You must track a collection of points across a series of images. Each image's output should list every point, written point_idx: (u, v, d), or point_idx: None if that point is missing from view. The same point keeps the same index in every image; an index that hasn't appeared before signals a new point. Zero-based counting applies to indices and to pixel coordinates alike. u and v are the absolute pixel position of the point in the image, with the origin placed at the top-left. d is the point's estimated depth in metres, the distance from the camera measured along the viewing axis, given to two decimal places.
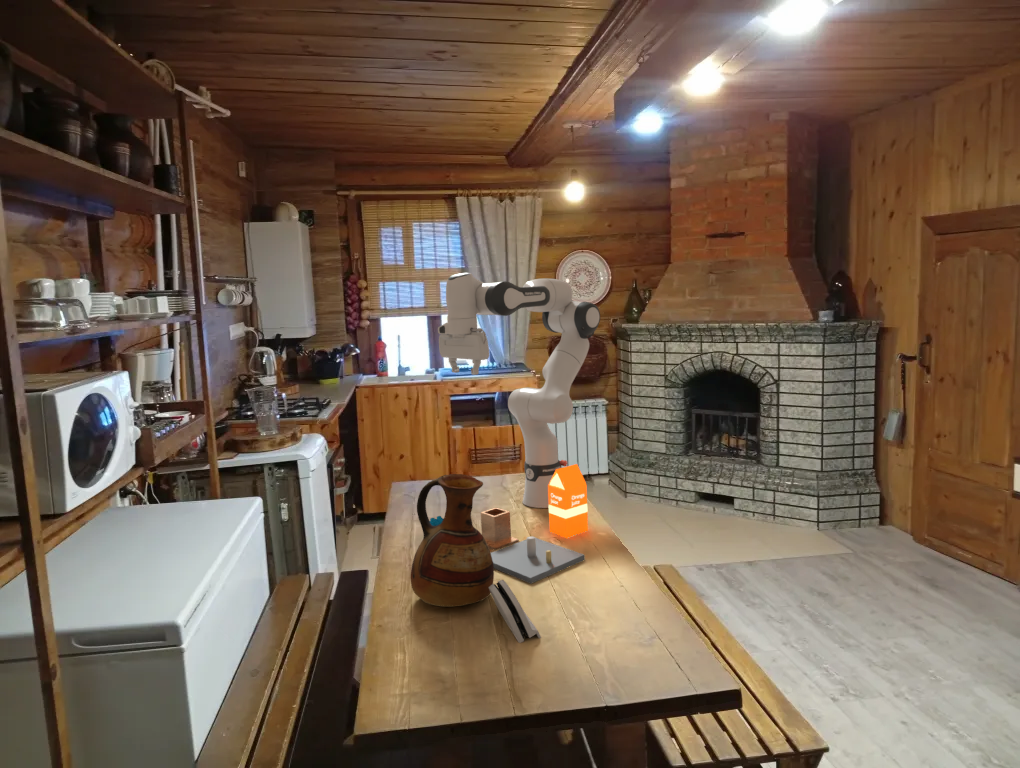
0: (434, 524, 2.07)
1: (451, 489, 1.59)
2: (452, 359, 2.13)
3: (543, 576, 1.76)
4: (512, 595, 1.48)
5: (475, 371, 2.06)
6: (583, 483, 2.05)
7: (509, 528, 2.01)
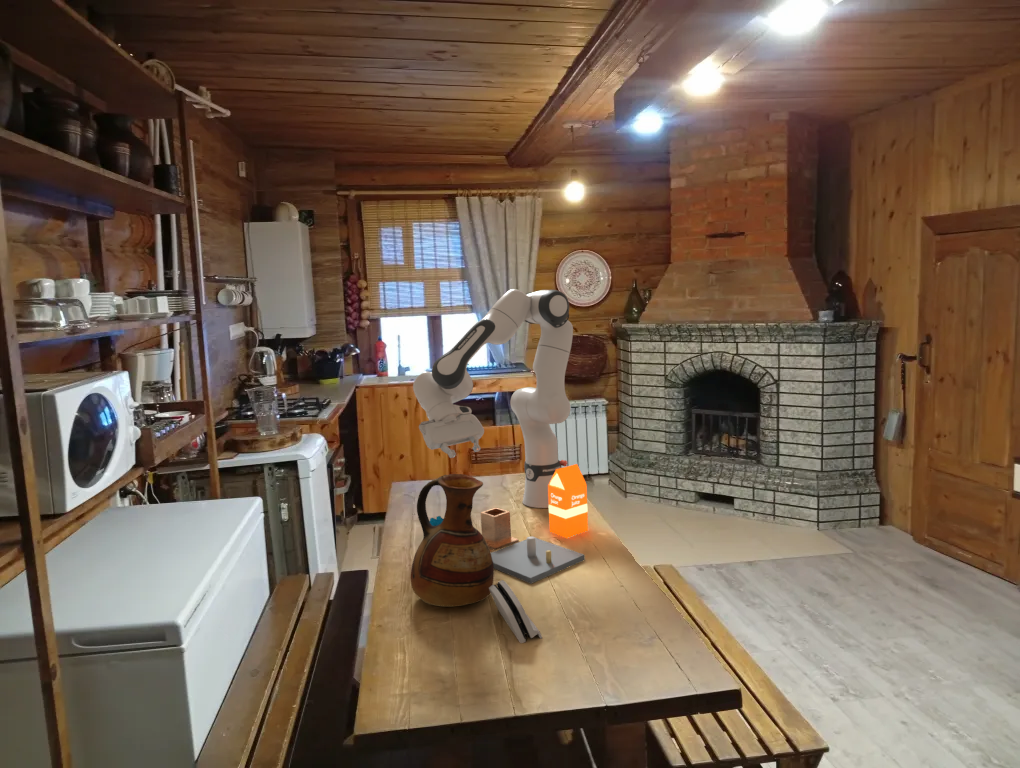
0: (434, 524, 2.07)
1: (451, 489, 1.59)
2: (472, 440, 2.14)
3: (543, 576, 1.76)
4: (513, 595, 1.48)
5: (449, 454, 2.05)
6: (583, 483, 2.05)
7: (509, 528, 2.01)
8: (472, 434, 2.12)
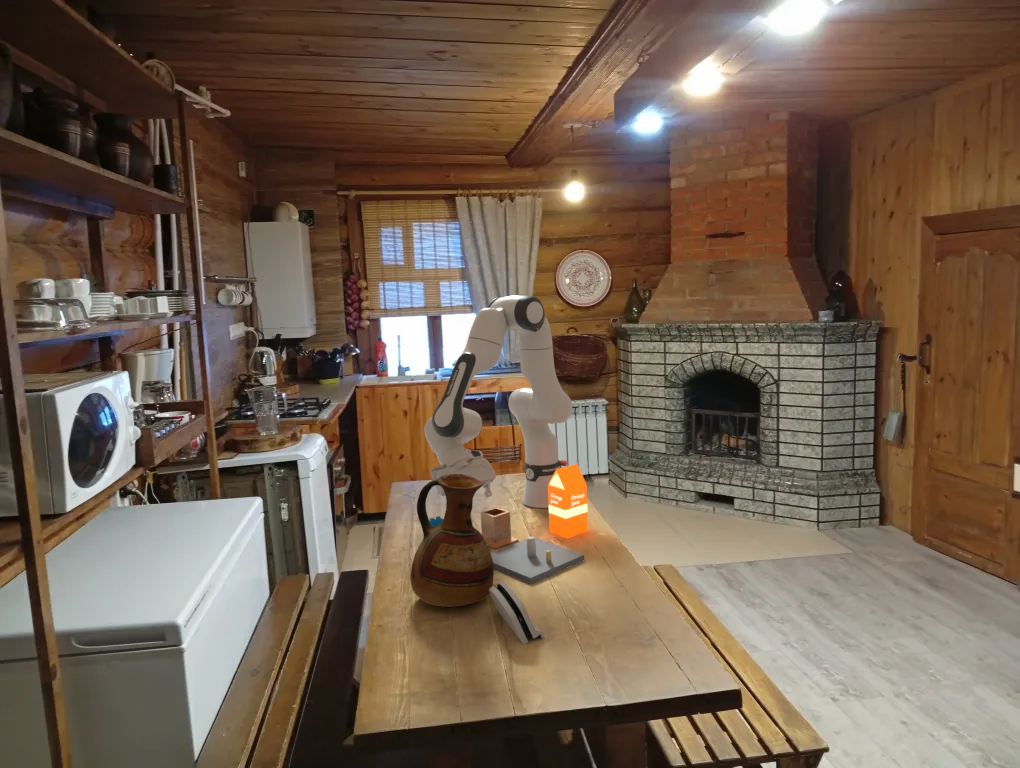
0: (433, 524, 2.07)
1: (451, 489, 1.59)
2: (483, 485, 2.12)
3: (543, 576, 1.76)
4: (515, 596, 1.48)
5: None
6: (583, 483, 2.05)
7: (509, 528, 2.01)
8: (484, 479, 2.11)
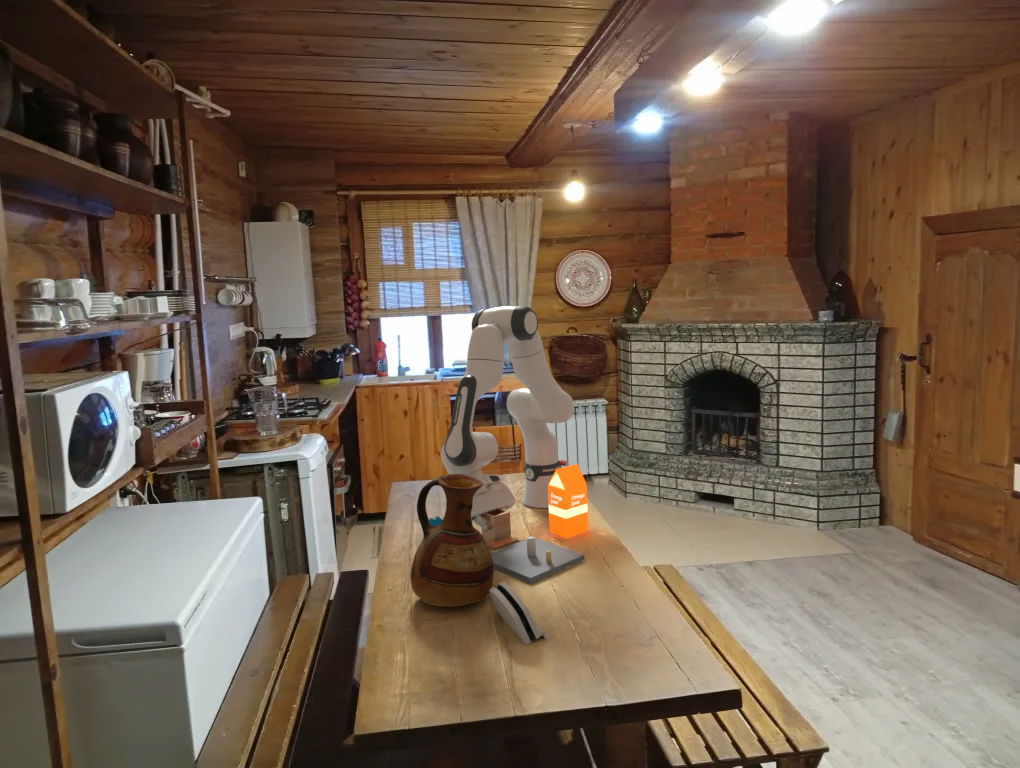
0: (433, 524, 2.07)
1: (451, 489, 1.59)
2: None
3: (543, 576, 1.76)
4: (517, 597, 1.47)
5: (483, 528, 1.99)
6: (583, 483, 2.05)
7: (509, 528, 2.01)
8: (503, 505, 2.06)
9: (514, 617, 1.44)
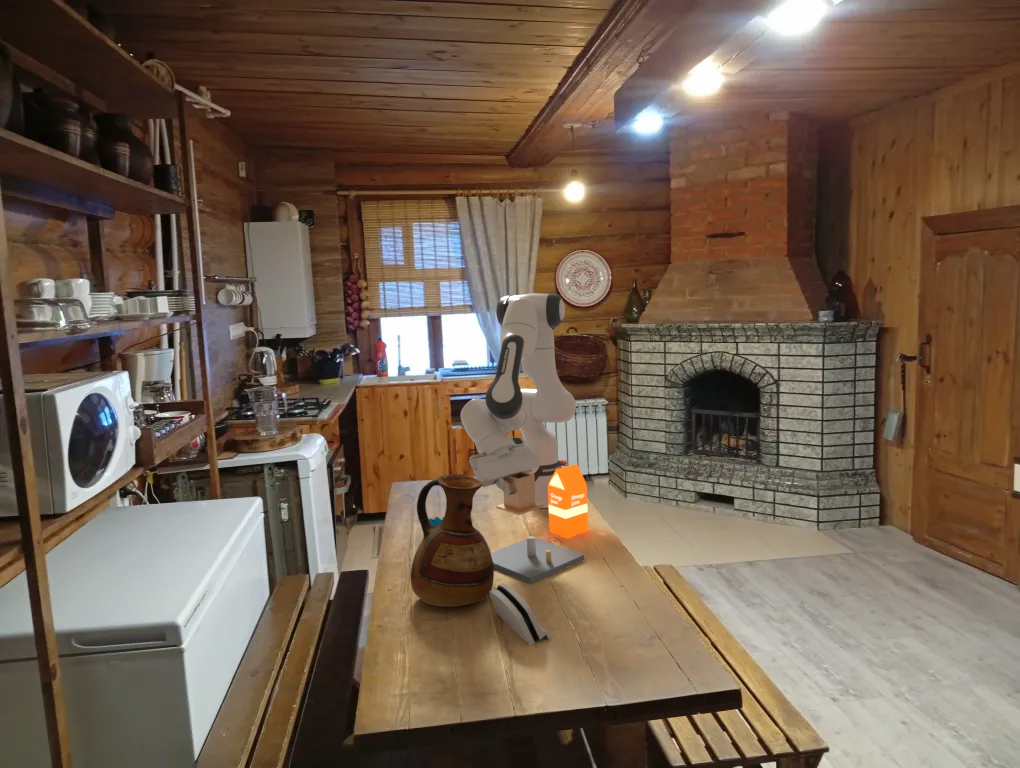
0: (433, 525, 2.07)
1: (451, 489, 1.59)
2: None
3: (543, 576, 1.76)
4: (520, 598, 1.47)
5: (506, 492, 1.85)
6: (583, 483, 2.05)
7: (533, 493, 1.87)
8: (527, 469, 1.91)
9: (518, 618, 1.43)
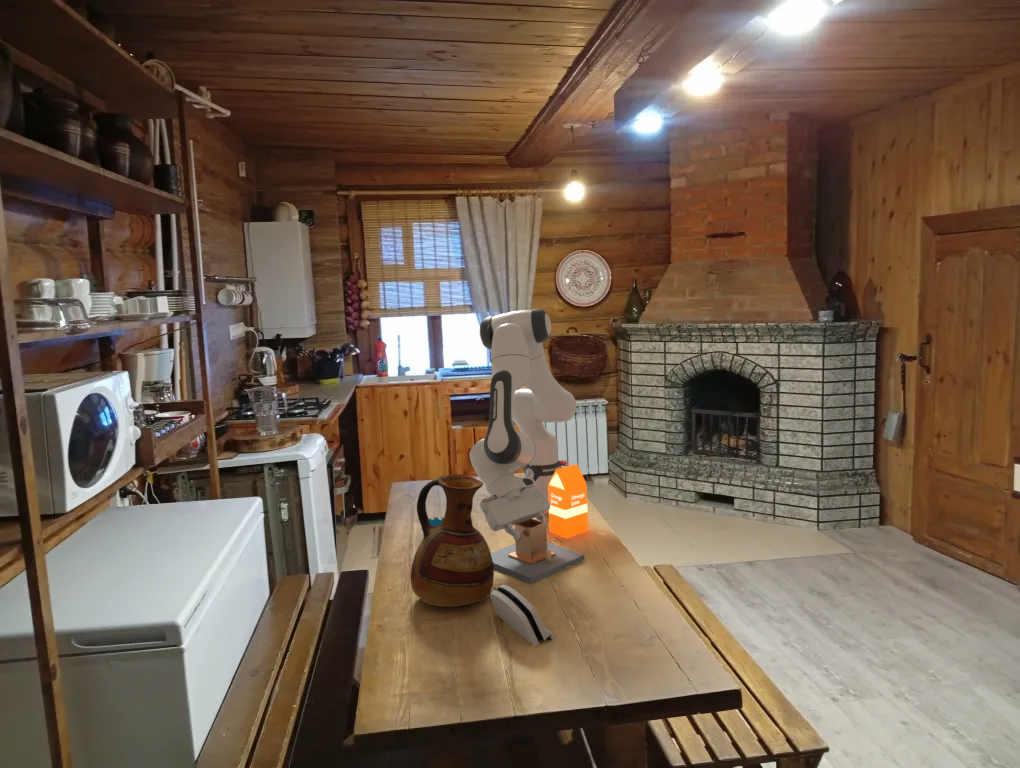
0: (432, 525, 2.07)
1: (451, 489, 1.59)
2: (537, 517, 1.91)
3: (543, 576, 1.76)
4: (523, 599, 1.46)
5: (515, 537, 1.83)
6: (583, 483, 2.05)
7: (545, 541, 1.86)
8: (538, 511, 1.90)
9: (522, 619, 1.43)
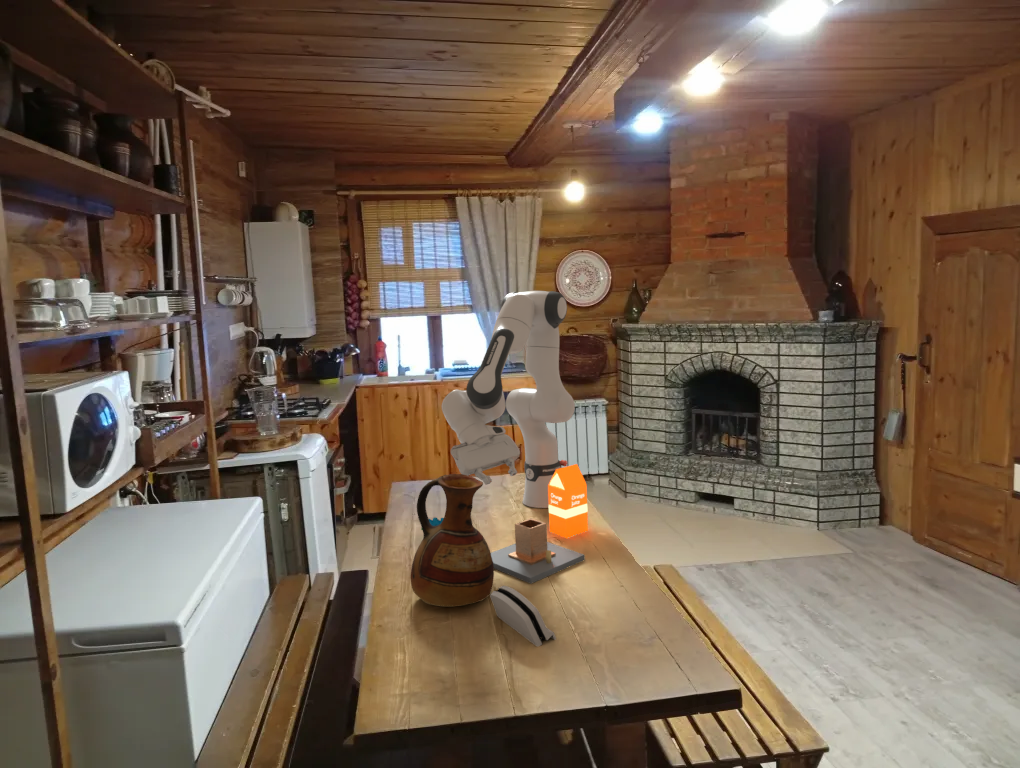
0: (432, 525, 2.06)
1: (451, 489, 1.59)
2: (507, 463, 1.98)
3: (543, 576, 1.76)
4: (525, 599, 1.46)
5: (484, 481, 1.90)
6: (583, 483, 2.05)
7: (545, 541, 1.86)
8: (507, 457, 1.97)
9: (525, 620, 1.42)
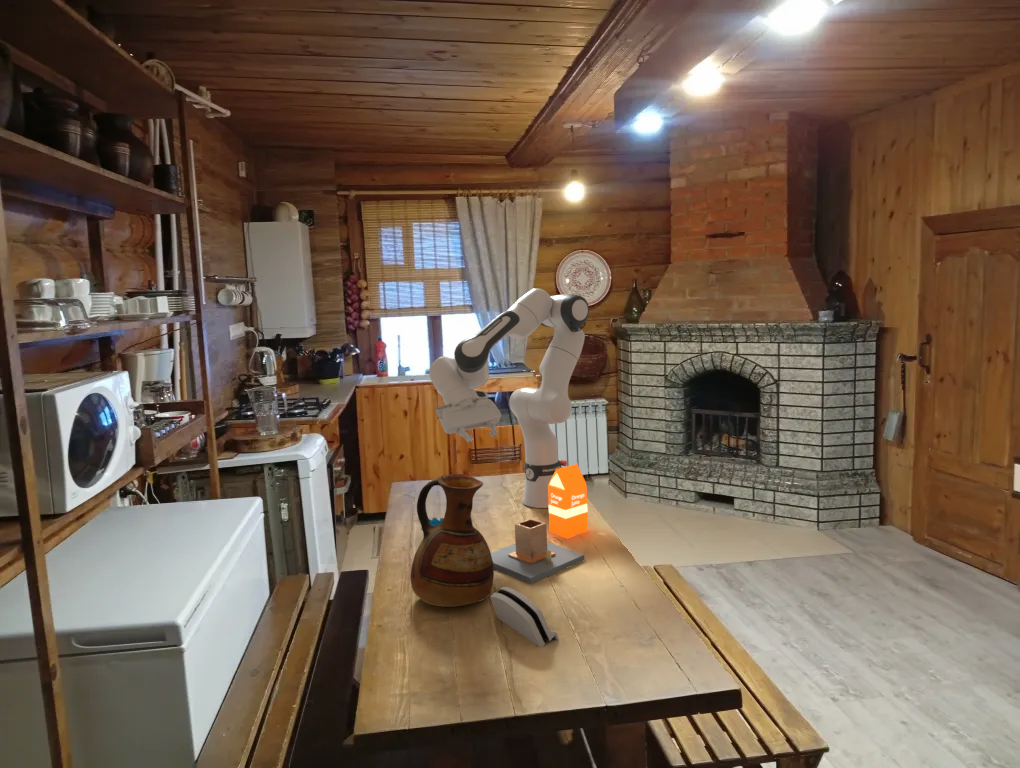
0: None
1: (451, 489, 1.59)
2: (489, 425, 2.11)
3: (543, 576, 1.76)
4: (527, 600, 1.46)
5: (466, 439, 2.03)
6: (583, 483, 2.05)
7: (545, 541, 1.86)
8: (489, 419, 2.10)
9: (528, 620, 1.42)
